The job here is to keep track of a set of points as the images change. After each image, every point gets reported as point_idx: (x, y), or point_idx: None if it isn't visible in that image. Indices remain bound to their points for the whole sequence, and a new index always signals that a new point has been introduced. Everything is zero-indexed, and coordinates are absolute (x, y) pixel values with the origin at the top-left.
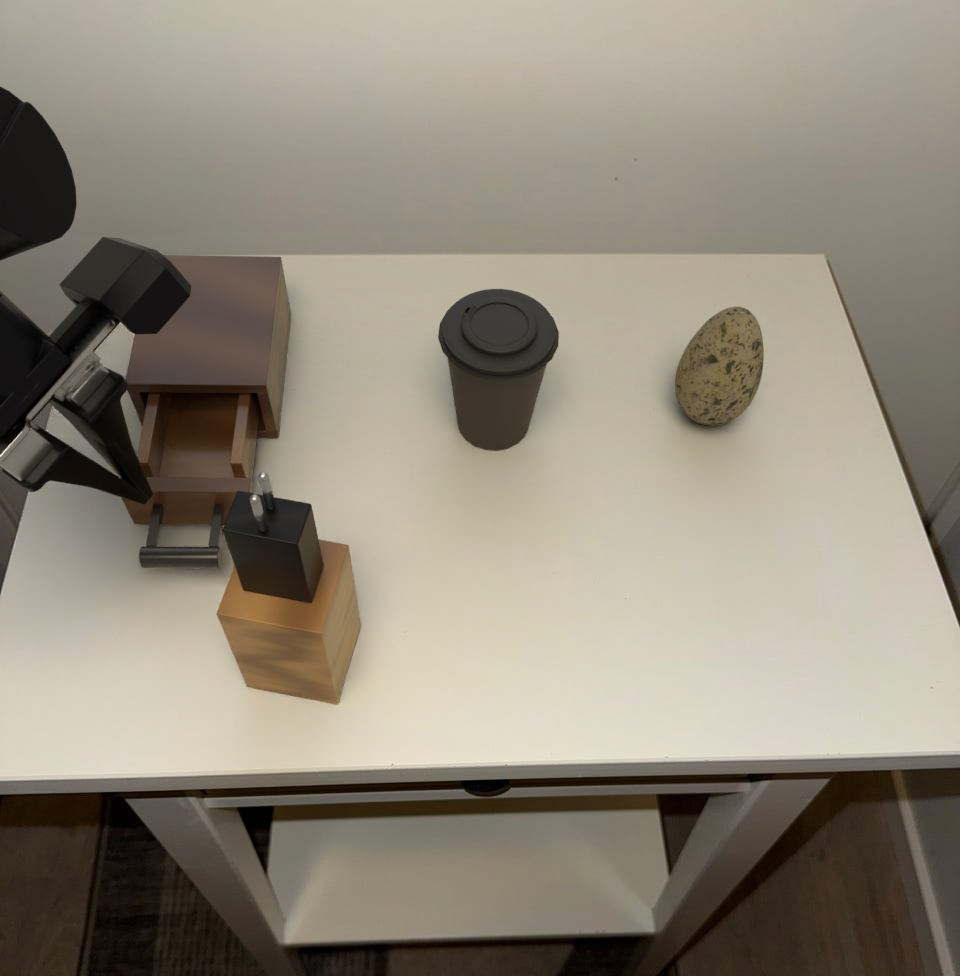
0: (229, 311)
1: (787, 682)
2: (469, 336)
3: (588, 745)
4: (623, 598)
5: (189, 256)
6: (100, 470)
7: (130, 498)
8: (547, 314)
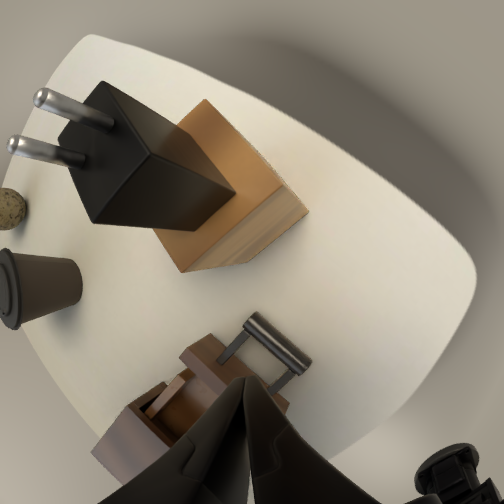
0: (126, 459)
1: (90, 66)
2: (7, 296)
3: (162, 62)
4: None
5: None
6: (258, 454)
7: (262, 389)
8: None
